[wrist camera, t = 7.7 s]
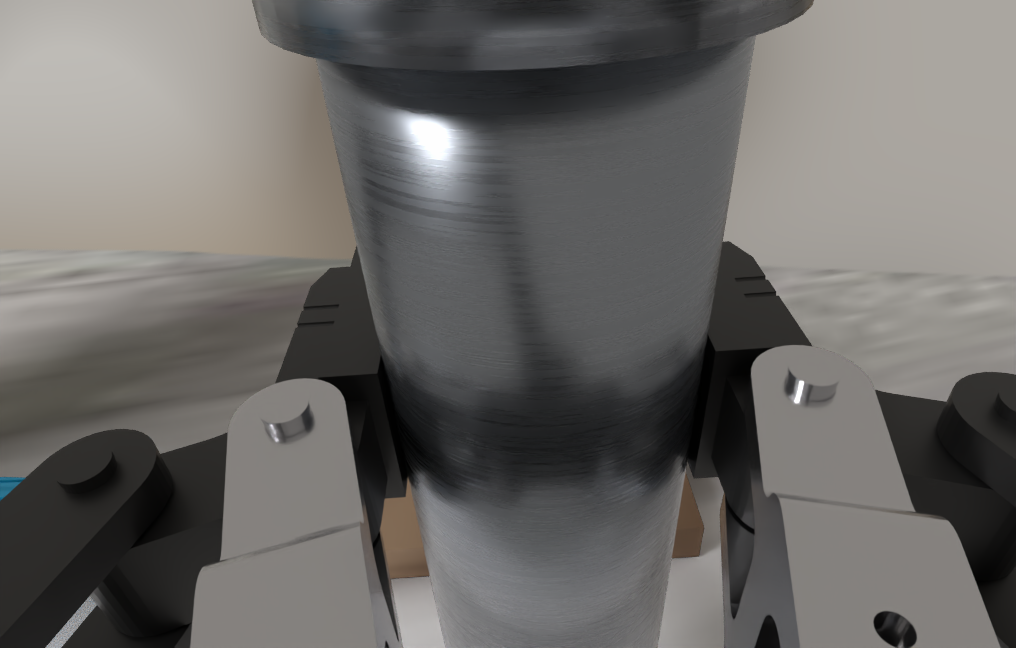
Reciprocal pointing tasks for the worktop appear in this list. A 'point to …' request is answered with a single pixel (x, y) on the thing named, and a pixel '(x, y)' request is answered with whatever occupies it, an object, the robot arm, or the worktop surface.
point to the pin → (539, 279)
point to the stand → (409, 550)
